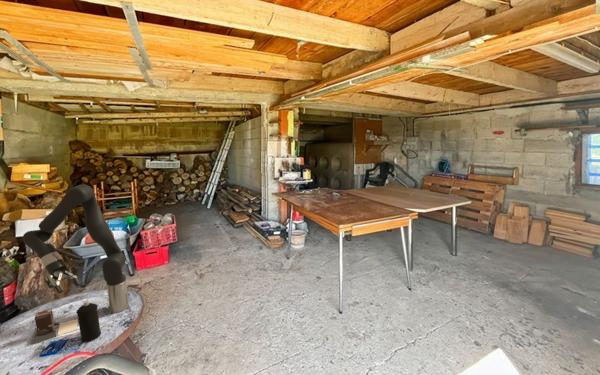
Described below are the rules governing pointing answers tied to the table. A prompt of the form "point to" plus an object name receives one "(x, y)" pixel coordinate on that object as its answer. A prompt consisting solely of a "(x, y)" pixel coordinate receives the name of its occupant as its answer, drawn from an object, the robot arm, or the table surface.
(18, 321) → the table surface
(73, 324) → the pad
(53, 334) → the open rectangular frame
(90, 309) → the aerosol can
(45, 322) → the box
